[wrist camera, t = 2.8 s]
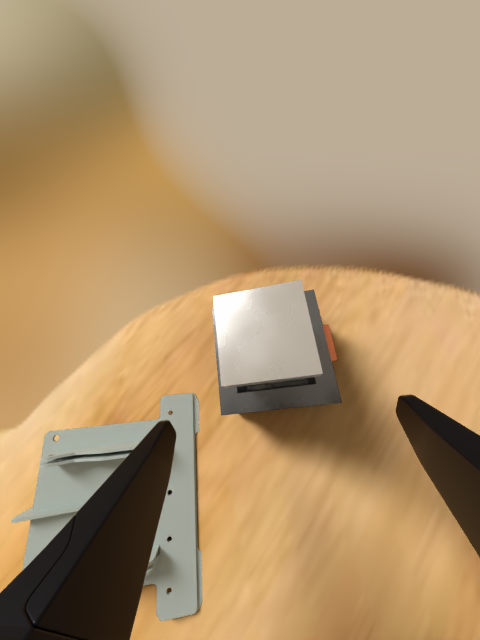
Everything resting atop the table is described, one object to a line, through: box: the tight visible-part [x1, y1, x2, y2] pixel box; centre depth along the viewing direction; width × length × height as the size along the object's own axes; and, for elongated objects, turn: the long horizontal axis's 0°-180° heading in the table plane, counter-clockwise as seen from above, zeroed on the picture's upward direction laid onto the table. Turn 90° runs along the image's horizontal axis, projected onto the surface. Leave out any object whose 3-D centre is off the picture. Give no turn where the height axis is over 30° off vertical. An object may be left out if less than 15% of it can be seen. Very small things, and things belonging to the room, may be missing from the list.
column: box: [214, 280, 323, 388], centre depth 13 cm, size 4×4×9 cm
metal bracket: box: [11, 393, 202, 621], centre depth 18 cm, size 14×6×15 cm
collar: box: [212, 290, 342, 415], centre depth 17 cm, size 8×8×6 cm
